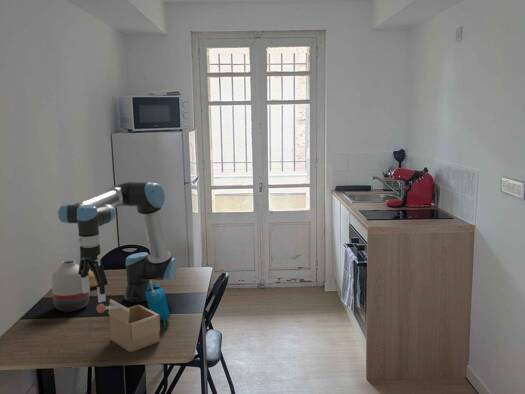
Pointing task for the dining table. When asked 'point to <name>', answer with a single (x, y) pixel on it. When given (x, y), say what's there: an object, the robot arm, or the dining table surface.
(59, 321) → the dining table surface
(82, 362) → the dining table surface
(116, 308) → the flap
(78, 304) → the vase
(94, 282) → the potato
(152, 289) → the blue rounded piece
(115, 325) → the carton
